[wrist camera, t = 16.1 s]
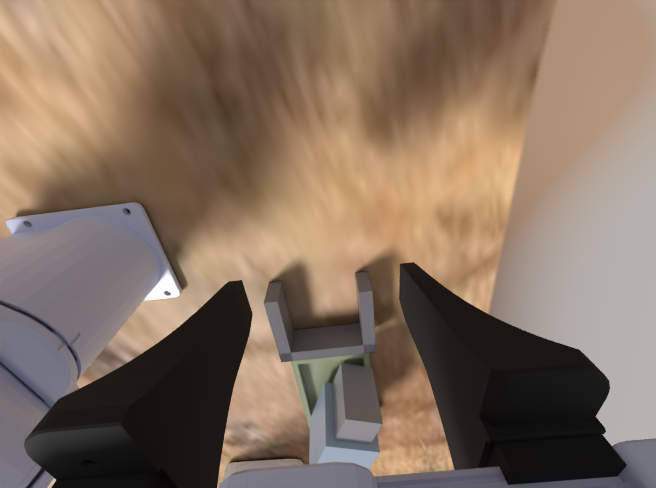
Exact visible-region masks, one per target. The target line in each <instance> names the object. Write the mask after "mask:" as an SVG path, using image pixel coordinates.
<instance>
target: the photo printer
mask: <svg viewBox="0 0 656 488" xmlns="http://www.w3.org/2000/svg"><path fill="white" fill-rule="evenodd" d="M292 465H304V464H303V462H302V461H301V460H299V459H276V460H261V461H243V462H234V463H229V464H228V465H227V467H226V470H225V473H224V477H223V481H224V480H225V479H226V478H228V477H229V476H230V475H231V474H233V473H235V472H239V471H243V470H248V469H256V468H268V467H280V466H292ZM223 481H222V482H223Z"/></svg>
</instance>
